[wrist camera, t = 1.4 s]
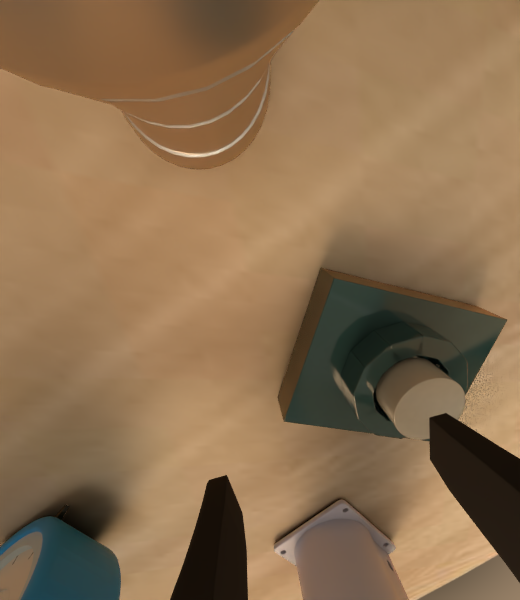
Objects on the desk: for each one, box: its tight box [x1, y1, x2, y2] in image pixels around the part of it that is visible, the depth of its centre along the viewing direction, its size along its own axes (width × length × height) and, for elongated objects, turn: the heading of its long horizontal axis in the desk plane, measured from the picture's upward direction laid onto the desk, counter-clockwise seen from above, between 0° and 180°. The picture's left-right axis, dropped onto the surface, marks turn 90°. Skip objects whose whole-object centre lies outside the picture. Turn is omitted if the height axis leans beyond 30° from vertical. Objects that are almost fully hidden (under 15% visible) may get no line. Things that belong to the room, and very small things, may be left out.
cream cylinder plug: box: [376, 358, 466, 440], centre depth 17 cm, size 4×4×2 cm
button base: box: [278, 268, 507, 441], centre depth 20 cm, size 12×10×4 cm
